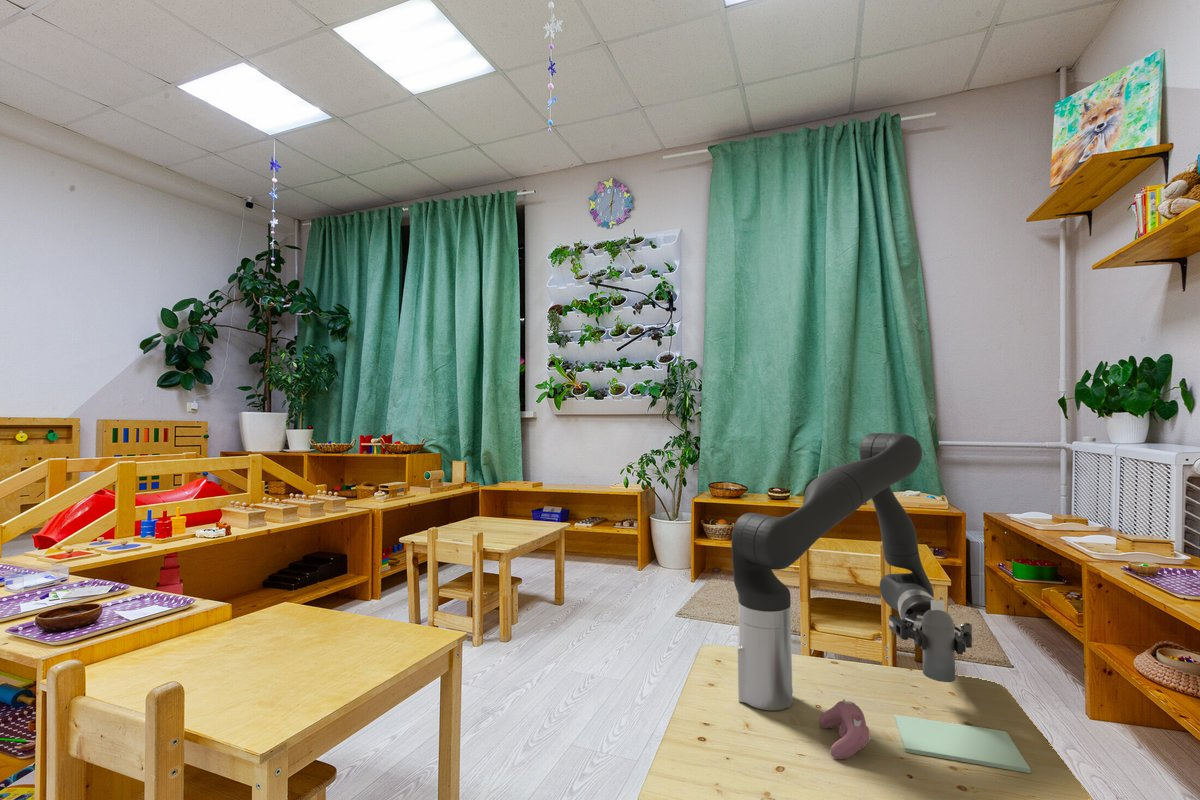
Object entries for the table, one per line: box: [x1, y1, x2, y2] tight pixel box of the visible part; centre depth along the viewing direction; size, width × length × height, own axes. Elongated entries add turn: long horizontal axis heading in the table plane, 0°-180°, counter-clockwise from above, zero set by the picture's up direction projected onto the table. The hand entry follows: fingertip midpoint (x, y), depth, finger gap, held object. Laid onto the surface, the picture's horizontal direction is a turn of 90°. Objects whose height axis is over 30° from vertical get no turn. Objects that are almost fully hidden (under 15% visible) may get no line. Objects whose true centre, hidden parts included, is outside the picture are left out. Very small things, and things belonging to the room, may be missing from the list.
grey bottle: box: [922, 599, 956, 683], centre depth 97 cm, size 5×5×13 cm
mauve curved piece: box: [818, 698, 871, 760], centre depth 88 cm, size 10×5×7 cm, turn 170°
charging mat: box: [894, 714, 1032, 774], centre depth 87 cm, size 16×10×1 cm, turn 70°
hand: (942, 646), depth 94 cm, fingers closed on grey bottle, 4 cm apart
